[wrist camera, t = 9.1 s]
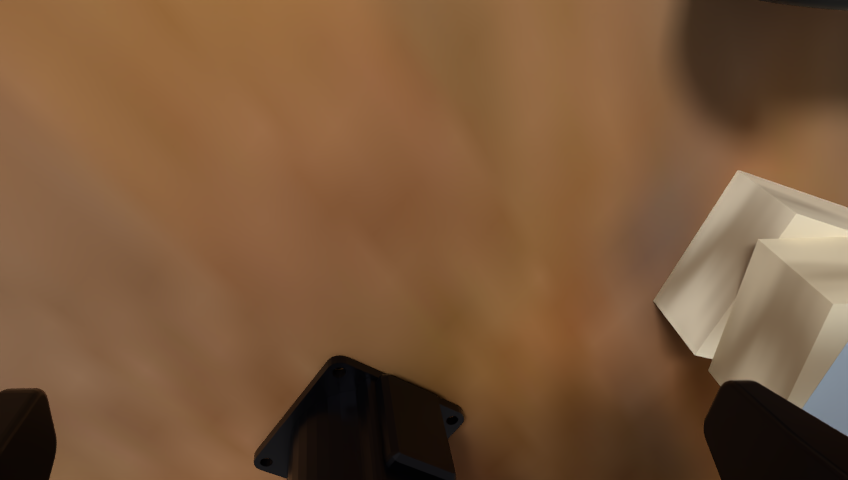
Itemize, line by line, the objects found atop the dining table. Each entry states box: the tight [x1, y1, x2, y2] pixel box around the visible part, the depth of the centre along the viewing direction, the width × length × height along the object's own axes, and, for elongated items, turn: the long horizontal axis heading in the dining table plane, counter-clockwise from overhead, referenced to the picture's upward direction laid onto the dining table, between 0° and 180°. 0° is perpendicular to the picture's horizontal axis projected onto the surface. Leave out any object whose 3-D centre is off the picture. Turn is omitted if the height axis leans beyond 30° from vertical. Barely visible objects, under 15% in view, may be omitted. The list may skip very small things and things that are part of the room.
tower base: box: [654, 170, 848, 359], centre depth 24 cm, size 6×6×4 cm
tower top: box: [708, 237, 848, 409], centre depth 21 cm, size 6×6×4 cm
